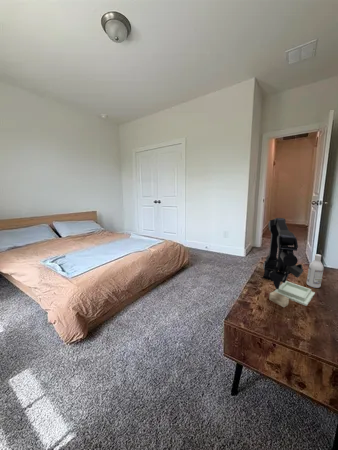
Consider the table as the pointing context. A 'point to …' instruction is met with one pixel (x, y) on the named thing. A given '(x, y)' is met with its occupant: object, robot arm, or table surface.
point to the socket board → (295, 292)
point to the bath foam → (315, 272)
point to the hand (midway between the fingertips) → (280, 285)
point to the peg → (279, 299)
